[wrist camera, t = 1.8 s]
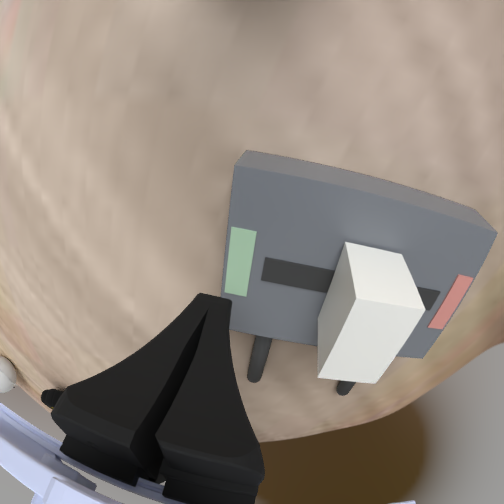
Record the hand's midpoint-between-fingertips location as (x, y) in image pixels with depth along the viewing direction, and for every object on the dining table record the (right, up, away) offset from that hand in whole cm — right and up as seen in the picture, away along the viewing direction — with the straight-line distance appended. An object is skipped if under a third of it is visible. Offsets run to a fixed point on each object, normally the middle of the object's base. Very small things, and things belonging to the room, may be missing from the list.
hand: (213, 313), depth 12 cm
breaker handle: (+7, +1, +3) cm, 7 cm away
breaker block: (+7, +2, +5) cm, 9 cm away
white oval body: (-44, -19, +28) cm, 55 cm away
